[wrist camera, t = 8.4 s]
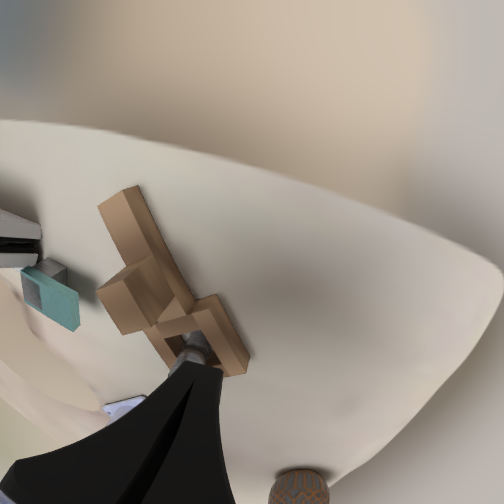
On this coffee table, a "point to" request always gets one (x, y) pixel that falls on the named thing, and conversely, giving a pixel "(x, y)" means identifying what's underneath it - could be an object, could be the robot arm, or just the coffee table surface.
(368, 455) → the coffee table surface
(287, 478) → the vase
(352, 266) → the coffee table surface
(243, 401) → the coffee table surface
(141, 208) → the link
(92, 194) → the coffee table surface
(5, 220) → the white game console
